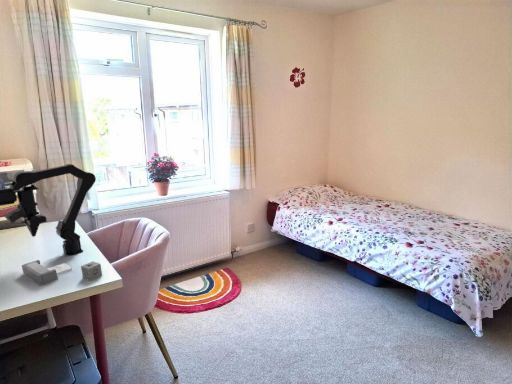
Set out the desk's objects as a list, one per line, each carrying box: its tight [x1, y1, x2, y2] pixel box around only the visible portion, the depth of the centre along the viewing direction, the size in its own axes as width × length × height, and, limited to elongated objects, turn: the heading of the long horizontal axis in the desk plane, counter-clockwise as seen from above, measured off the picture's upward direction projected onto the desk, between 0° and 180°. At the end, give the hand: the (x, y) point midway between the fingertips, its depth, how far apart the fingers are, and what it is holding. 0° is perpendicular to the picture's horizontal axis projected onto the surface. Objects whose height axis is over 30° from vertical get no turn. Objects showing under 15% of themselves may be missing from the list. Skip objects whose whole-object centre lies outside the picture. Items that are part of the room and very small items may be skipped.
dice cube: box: [80, 260, 103, 281], centre depth 134 cm, size 5×5×5 cm
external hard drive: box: [47, 262, 73, 276], centre depth 139 cm, size 2×8×12 cm
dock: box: [21, 259, 58, 287], centre depth 136 cm, size 6×17×4 cm, turn 52°
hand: (33, 236), depth 148 cm, fingers closed
